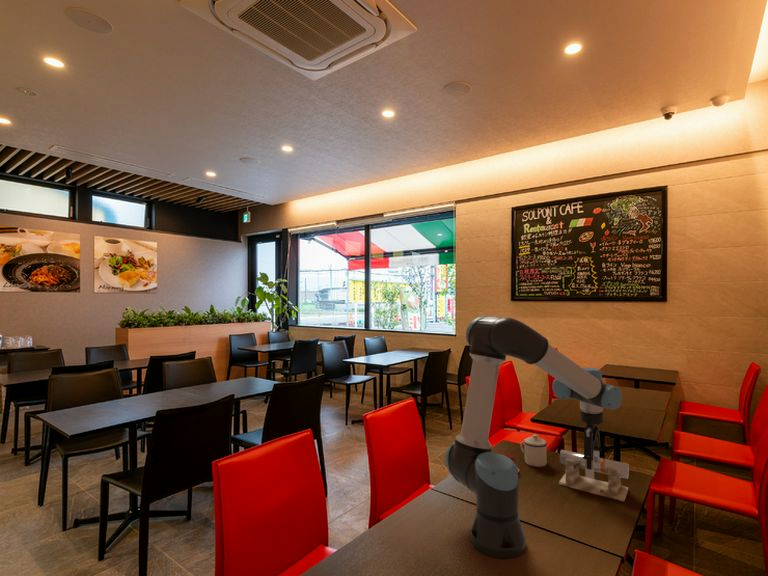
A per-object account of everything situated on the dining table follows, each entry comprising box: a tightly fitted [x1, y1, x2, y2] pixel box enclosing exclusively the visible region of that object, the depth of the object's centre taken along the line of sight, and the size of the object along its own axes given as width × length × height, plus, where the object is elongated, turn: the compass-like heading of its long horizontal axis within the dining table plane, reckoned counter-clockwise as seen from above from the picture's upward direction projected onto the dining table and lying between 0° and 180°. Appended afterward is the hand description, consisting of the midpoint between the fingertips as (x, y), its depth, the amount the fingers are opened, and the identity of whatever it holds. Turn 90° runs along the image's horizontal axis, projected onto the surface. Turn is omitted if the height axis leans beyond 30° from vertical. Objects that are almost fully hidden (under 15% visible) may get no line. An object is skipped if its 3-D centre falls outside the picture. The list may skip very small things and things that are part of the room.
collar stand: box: [558, 459, 629, 502], centre depth 149 cm, size 21×10×10 cm, turn 52°
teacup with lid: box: [520, 434, 548, 468], centre depth 172 cm, size 12×9×12 cm
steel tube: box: [559, 449, 630, 479], centre depth 149 cm, size 22×5×5 cm
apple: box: [503, 453, 520, 474], centre depth 164 cm, size 8×8×6 cm
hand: (592, 472), depth 149 cm, fingers open, 9 cm apart
